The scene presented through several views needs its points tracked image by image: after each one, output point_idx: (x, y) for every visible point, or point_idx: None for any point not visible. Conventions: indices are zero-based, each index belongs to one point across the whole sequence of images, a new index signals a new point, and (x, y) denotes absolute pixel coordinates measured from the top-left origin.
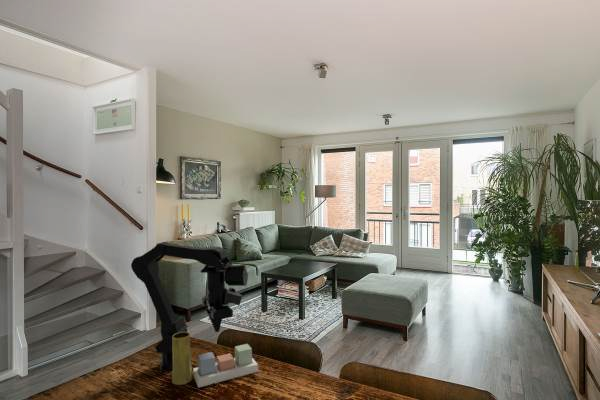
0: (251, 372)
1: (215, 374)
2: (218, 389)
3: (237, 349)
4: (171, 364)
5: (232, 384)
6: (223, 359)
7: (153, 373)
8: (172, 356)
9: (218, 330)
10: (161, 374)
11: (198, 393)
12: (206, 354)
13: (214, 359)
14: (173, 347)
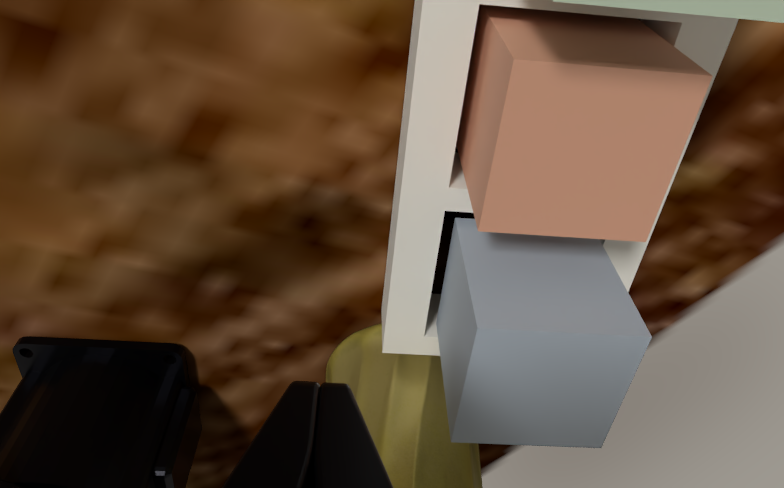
0: None
1: (631, 243)
2: (724, 218)
3: (701, 7)
4: (194, 435)
5: (763, 99)
6: (618, 196)
7: (193, 471)
8: (174, 485)
9: (358, 416)
10: (233, 444)
11: (649, 332)
12: (504, 385)
13: (641, 327)
14: None
